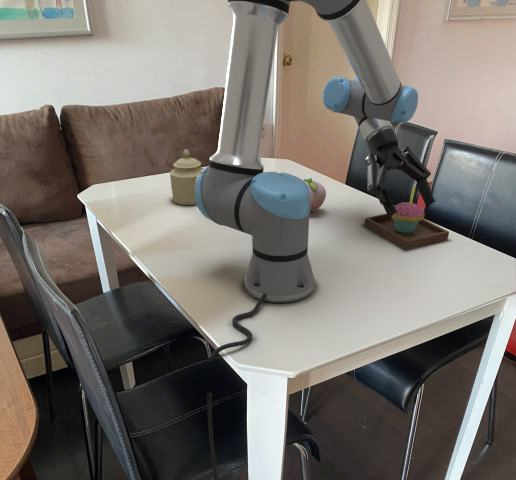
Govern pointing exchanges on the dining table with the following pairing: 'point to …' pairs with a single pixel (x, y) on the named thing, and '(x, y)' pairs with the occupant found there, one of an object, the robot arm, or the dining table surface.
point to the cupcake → (407, 215)
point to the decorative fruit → (315, 193)
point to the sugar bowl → (185, 179)
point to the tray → (419, 237)
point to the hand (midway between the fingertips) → (412, 209)
